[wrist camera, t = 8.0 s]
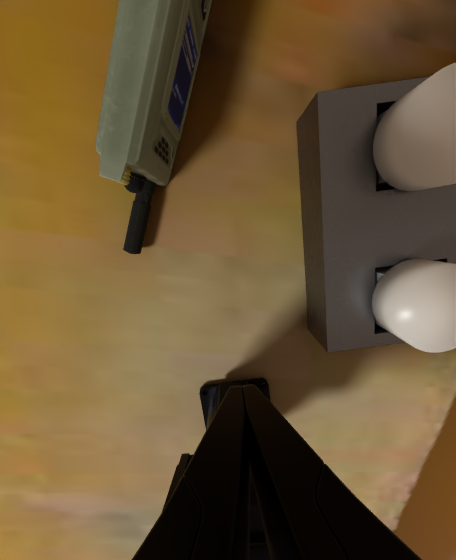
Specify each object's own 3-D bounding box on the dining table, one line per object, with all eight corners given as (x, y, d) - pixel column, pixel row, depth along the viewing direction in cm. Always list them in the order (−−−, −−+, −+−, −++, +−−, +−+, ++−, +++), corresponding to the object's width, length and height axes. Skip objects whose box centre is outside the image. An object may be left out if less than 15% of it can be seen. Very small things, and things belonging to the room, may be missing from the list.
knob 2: (407, 311, 21) (485, 346, 15) (345, 319, 21) (396, 358, 15) (410, 248, 20) (496, 258, 13) (344, 257, 20) (399, 271, 13)
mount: (439, 312, 21) (488, 331, 17) (308, 329, 21) (327, 352, 17) (455, 100, 18) (522, 63, 14) (296, 122, 18) (317, 92, 14)
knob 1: (412, 193, 19) (506, 176, 12) (342, 202, 19) (401, 190, 12) (416, 114, 17) (522, 52, 11) (341, 124, 17) (405, 68, 11)
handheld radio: (249, -119, 15) (158, 257, 20) (198, -139, 15) (120, 246, 20) (262, -396, 8) (121, 270, 13) (172, -436, 8) (64, 253, 13)
